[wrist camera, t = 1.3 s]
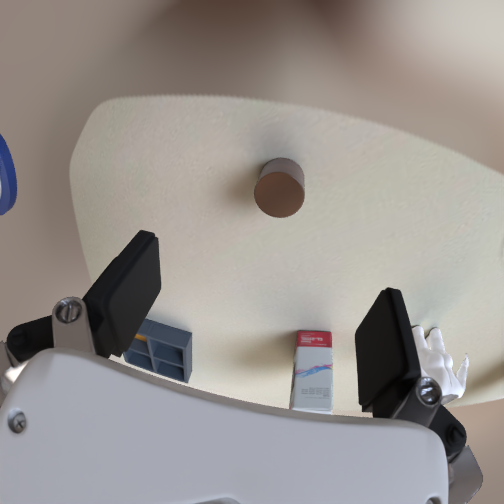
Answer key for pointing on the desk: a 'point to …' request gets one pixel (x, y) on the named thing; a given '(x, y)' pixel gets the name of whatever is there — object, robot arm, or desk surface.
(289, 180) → the cylinder
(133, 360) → the grid
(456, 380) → the toy creature
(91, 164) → the desk surface
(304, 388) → the ink box
